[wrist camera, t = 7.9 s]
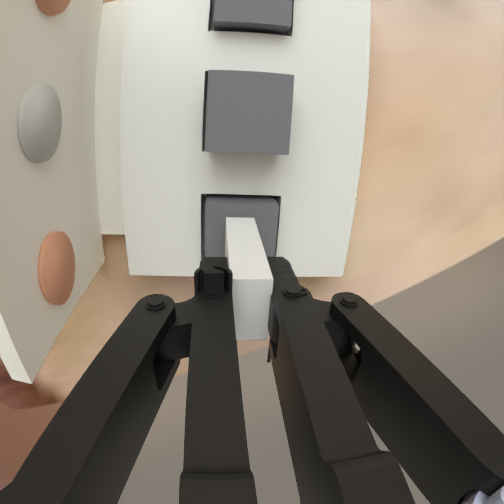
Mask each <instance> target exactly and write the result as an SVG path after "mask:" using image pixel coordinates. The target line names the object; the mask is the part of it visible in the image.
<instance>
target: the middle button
mask: <svg viewBox="0 0 504 504" xmlns="http://www.w3.org/2000/svg"><path fill="white" fill-rule="evenodd" d="M293 89H294V75H290V74H280V73H269V72H256V71H238V70H208V89H207V110H206V136H205V152H237V153H262V154H280V155H289V146H290V133H291V119H292V104H293Z"/></svg>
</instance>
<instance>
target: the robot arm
mask: <svg viewBox="0 0 504 504" xmlns="http://www.w3.org/2000/svg"><path fill="white" fill-rule="evenodd" d="M194 284H195V296H194V297H193V298H191V299H190V300H187V301H185V302H181V303H174V301H173V299H172V298H170V297H169V296H166V295H163V294H152V295H148V296H146V297H143V298H142V299H141V300H139V301H138V303H137V304H136V305H135V306H134V308H133V309H132V310H131V311H130V313H129V314H128V315H127V317H126V318H125V319H124V321H123V322H122V323H121V324H120V326H119V327H118V328H117V330H116V331H115V332H114V334H113V335H112V336H111V338H110V339H109V340H108V342H107V343H106V344H105V346H104V347H103V348H102V350H101V351H100V352H99V354H98V355H97V356H96V358H95V359H94V360H93V362H92V363H91V365H90V366H89V367H88V369H87V370H86V371H85V373H84V374H83V376H82V377H81V378H80V380H79V381H78V383H77V384H76V385H75V387H74V388H73V390H72V391H71V392H70V394H69V395H68V397H67V398H66V400H65V401H64V403H63V404H62V406H61V407H60V408H59V410H58V411H57V413H56V414H55V416H54V417H53V419H52V420H51V422H50V423H49V425H48V426H47V428H46V429H45V431H44V432H43V434H42V435H41V437H40V438H39V440H38V441H37V443H36V444H35V446H34V447H33V449H32V451H31V452H30V454H29V455H28V457H27V458H26V460H25V462H24V463H23V465H22V466H21V468H20V470H19V471H18V473H17V475H16V476H15V478H14V479H13V481H12V482H11V483H10V484H9V485H7V486H6V487H5V488H4V489H2V490H1V491H0V504H117V503H118V501H119V498H120V496H121V494H122V491H123V489H124V487H125V484H126V482H127V480H128V478H129V475H130V473H131V471H132V468H133V466H134V464H135V462H136V459H137V457H138V455H139V453H140V450H141V448H142V446H143V444H144V441H145V439H146V437H147V435H148V432H149V430H150V428H151V426H152V423H153V421H154V419H155V417H156V414H157V412H158V410H159V408H160V406H161V403H162V401H163V399H164V397H165V395H166V392H167V390H168V388H169V386H170V384H171V382H172V379H173V377H174V375H175V373H176V371H177V368H178V366H179V364H180V359H181V358H186V357H189V368H188V382H187V399H186V417H185V440H184V466H183V472H182V473H181V476H180V488H179V504H257V497H256V489H255V482H254V477H253V473H252V472H251V470H250V464H249V457H248V448H247V440H246V430H245V421H244V412H243V402H242V393H241V383H240V373H239V363H238V353H237V342H236V340H267V337H268V330H269V335H270V342H269V351H268V360H267V362H270V359H271V361H272V366H273V371H274V376H275V380H276V385H277V390H278V395H279V400H280V405H281V409H282V414H283V419H284V424H285V429H286V434H287V438H288V443H289V448H290V453H291V458H292V463H293V467H294V472H295V477H296V482H297V487H298V491H299V496H300V504H415V502H414V499H413V497H412V494H411V492H410V489H409V487H408V484H407V482H406V480H405V477H404V475H403V472H402V470H401V468H400V465H401V466H402V468H403V469H404V470H405V471H406V473H407V474H408V475H409V477H410V478H411V479H412V481H413V482H414V483H415V485H416V486H417V487H418V489H419V490H420V491H421V492H422V494H423V495H424V496H425V498H426V499H427V500H428V501H429V502H430V503H431V504H504V435H503V434H502V433H501V432H500V430H499V429H498V428H497V427H496V426H495V425H494V424H493V423H492V422H491V421H490V420H489V419H488V418H487V417H486V416H485V415H484V414H483V413H482V412H481V411H480V410H479V409H478V408H477V407H476V406H475V405H474V404H473V403H472V402H471V401H470V400H469V399H468V398H467V397H466V396H465V395H464V394H463V393H462V392H461V391H460V390H459V389H458V388H457V387H456V386H455V385H454V384H453V383H452V382H451V381H450V380H449V379H448V378H447V377H446V376H445V375H444V374H443V373H442V372H441V371H440V370H439V369H438V368H437V367H436V366H434V364H433V363H432V362H431V361H430V360H428V359H427V358H426V357H425V356H424V355H423V354H422V353H421V352H420V351H419V350H418V349H417V348H416V347H415V346H414V345H413V344H412V343H411V342H410V341H409V340H408V339H406V338H405V337H404V336H403V335H402V334H401V333H400V332H399V331H398V330H397V329H396V328H395V327H393V326H392V325H391V324H390V323H389V322H388V321H387V320H386V319H385V318H384V317H383V316H382V315H381V314H380V313H378V312H377V311H376V310H375V309H374V308H373V307H372V306H371V305H370V304H369V303H367V302H366V301H365V300H364V299H363V298H361V297H360V296H358V295H356V294H353V293H349V292H343V293H337V294H335V295H334V296H333V297H332V301H331V302H326V301H320V300H316V299H313V298H312V295H311V293H310V292H309V291H308V289H306V288H304V287H303V286H300V285H299V282H298V280H297V278H296V276H295V273H294V271H293V269H292V267H291V264H290V262H289V261H288V260H286V259H285V258H284V257H266V254H265V250H264V247H263V244H262V241H261V238H260V235H259V231H258V228H257V225H256V222H255V219H254V218H239V217H226V232H225V257H204V258H203V259H202V260H201V261H200V266H199V268H198V269H196V271H195V272H194ZM355 344H357V345H358V346H359V347H360V351H358V350H357V349H356V348H355ZM367 421H368V423H369V424H370V425H371V427H372V428H373V429H374V431H375V432H376V433H377V434H378V436H379V437H380V438H381V440H382V441H383V442H384V444H385V445H386V446H387V448H388V449H389V450H390V452H389V451H381V450H380V449H379V448H378V447H377V445H376V442H375V440H374V437H373V435H372V433H371V430H370V428H369V425H368V423H367ZM398 462H399V463H398ZM399 464H400V465H399Z"/></svg>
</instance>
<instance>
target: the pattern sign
mask: <svg viewBox="0 0 504 504" xmlns="http://www.w3.org/2000/svg"><path fill="white" fill-rule="evenodd" d="M103 1H104V0H0V356H1V359H2V361H3V363H4V365H5V367H6V369H7V371H8V372H9V374H10V376H11V378H12V379H13V380H17V381H22V382H26V383H30V384H32V383H33V381H34V379H35V377H36V375H37V373H38V371H39V369H40V368H41V366H42V364H43V362H44V360H45V358H46V356H47V355H48V353H49V351H50V349H51V347H52V345H53V344H54V342H55V340H56V338H57V337H58V335H59V333H60V331H61V330H62V328H63V326H64V325H65V323H66V321H67V320H68V318H69V316H70V315H71V313H72V311H73V310H74V308H75V306H76V305H77V303H78V302H79V300H80V298H81V297H82V295H83V294H84V292H85V290H86V289H87V287H88V286H89V284H90V283H91V281H92V280H93V278H94V277H95V275H96V274H97V272H98V271H99V269H100V268H101V266H102V265H103V263H104V262H105V256H104V249H103V242H102V234H120V235H125V230H124V218H123V205H122V189H121V167H120V91H121V70H122V55H123V43H124V32H125V23H126V15H127V7H128V0H119V1H113V2H107V3H103Z"/></svg>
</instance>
